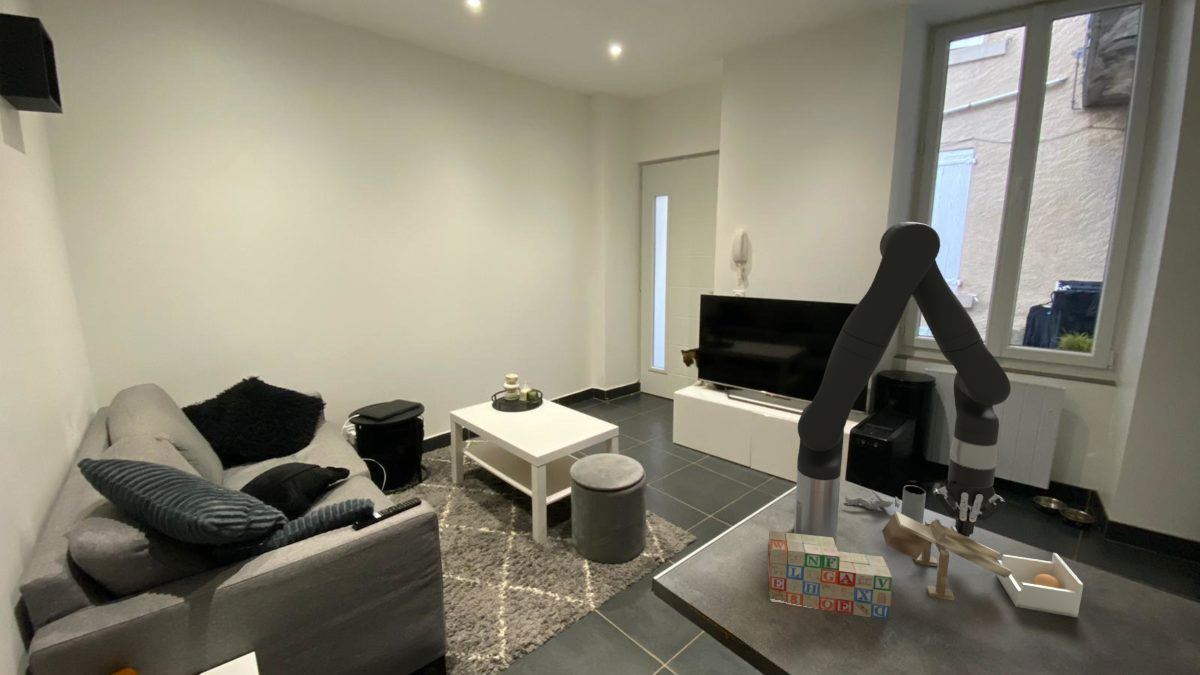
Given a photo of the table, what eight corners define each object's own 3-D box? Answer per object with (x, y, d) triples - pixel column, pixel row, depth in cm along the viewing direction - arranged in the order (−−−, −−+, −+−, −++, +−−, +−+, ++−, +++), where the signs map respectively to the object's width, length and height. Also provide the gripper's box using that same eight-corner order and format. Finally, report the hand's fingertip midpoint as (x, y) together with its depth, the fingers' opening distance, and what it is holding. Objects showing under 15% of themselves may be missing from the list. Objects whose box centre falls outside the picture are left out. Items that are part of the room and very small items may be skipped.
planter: (918, 524, 118) (922, 486, 116) (924, 535, 114) (928, 496, 112) (897, 521, 120) (901, 484, 118) (902, 532, 116) (906, 493, 114)
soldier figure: (845, 501, 132) (893, 492, 128) (852, 519, 129) (901, 510, 126) (844, 493, 126) (894, 483, 123) (851, 511, 123) (902, 502, 120)
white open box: (1015, 606, 92) (1020, 574, 91) (996, 574, 101) (1000, 545, 99) (1077, 617, 89) (1083, 584, 88) (1051, 584, 97) (1056, 553, 96)
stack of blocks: (880, 597, 96) (884, 542, 94) (889, 621, 90) (894, 563, 88) (767, 581, 102) (768, 529, 99) (768, 602, 96) (770, 547, 94)
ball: (1067, 585, 91) (1064, 603, 91) (1055, 571, 94) (1053, 589, 95) (1040, 581, 92) (1038, 599, 93) (1030, 567, 96) (1028, 585, 97)
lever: (888, 549, 99) (908, 519, 96) (876, 514, 111) (894, 487, 108) (992, 601, 94) (1017, 571, 91) (968, 559, 106) (990, 532, 103)
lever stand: (929, 596, 96) (934, 553, 94) (913, 557, 107) (917, 518, 105) (953, 600, 94) (958, 557, 92) (934, 560, 106) (939, 521, 104)
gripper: (940, 463, 98) (932, 539, 102) (1020, 471, 94) (1009, 550, 97) (929, 448, 105) (922, 519, 109) (1004, 455, 101) (994, 529, 104)
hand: (963, 534), depth 103 cm, fingers closed
